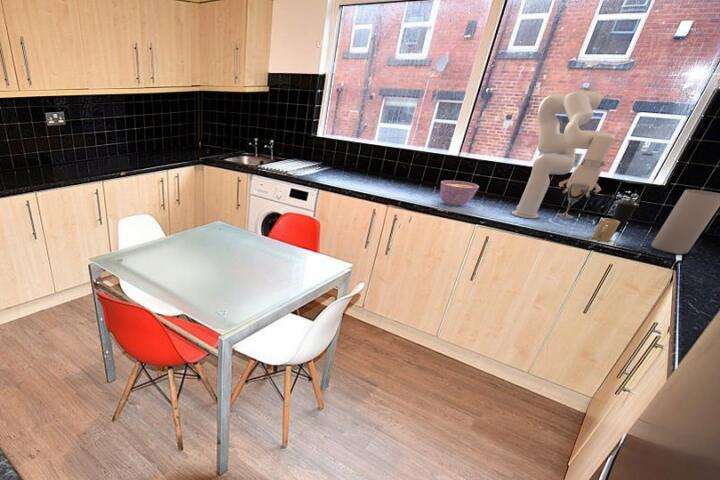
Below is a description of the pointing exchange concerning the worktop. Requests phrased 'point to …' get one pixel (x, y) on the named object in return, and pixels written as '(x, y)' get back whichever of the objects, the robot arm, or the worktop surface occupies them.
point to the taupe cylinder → (686, 221)
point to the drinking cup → (624, 211)
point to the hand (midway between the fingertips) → (571, 202)
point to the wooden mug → (605, 229)
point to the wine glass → (574, 197)
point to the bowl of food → (457, 192)
